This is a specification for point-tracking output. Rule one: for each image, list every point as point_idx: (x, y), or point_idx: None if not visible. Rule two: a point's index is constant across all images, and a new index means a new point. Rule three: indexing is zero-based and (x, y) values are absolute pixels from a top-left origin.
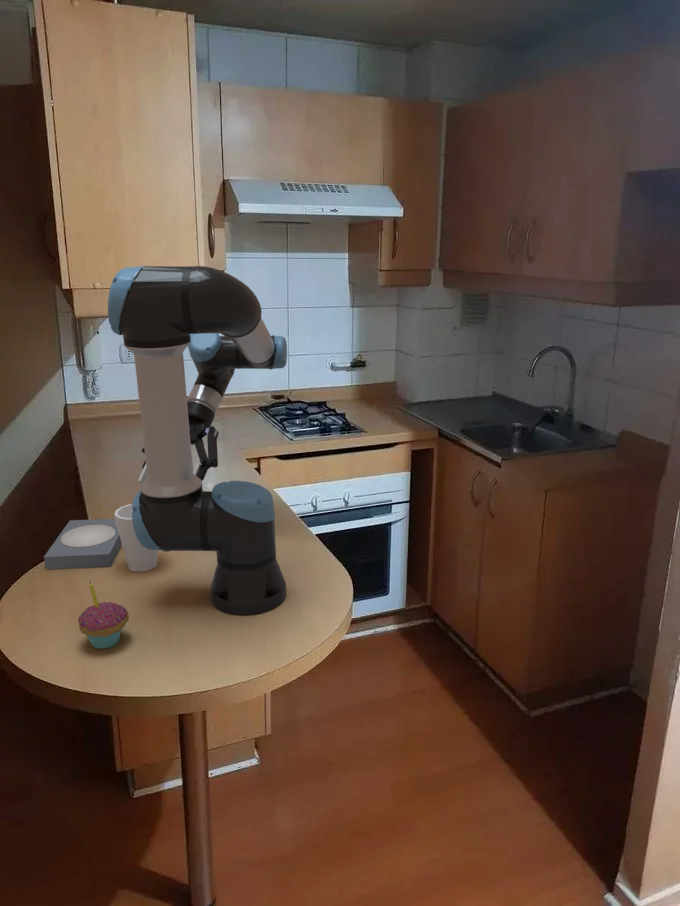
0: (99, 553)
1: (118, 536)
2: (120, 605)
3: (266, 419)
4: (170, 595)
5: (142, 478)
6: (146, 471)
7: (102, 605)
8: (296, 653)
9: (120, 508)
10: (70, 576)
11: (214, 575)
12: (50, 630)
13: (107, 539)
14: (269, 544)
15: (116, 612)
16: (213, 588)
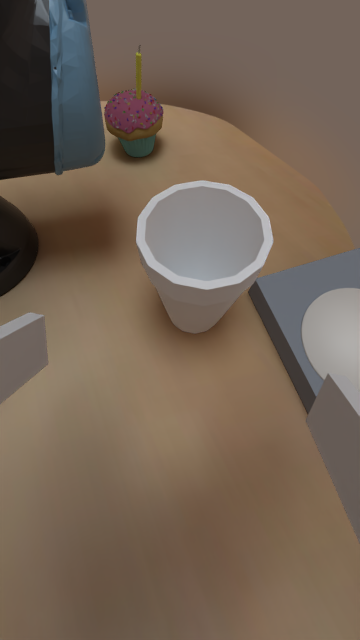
0: (275, 277)
1: (295, 357)
2: (118, 120)
3: None
4: (103, 235)
5: (333, 388)
6: (356, 433)
7: (132, 98)
8: None
9: (266, 234)
10: (289, 251)
11: (2, 203)
12: (213, 152)
13: (304, 330)
14: None
15: (110, 100)
16: (13, 206)
